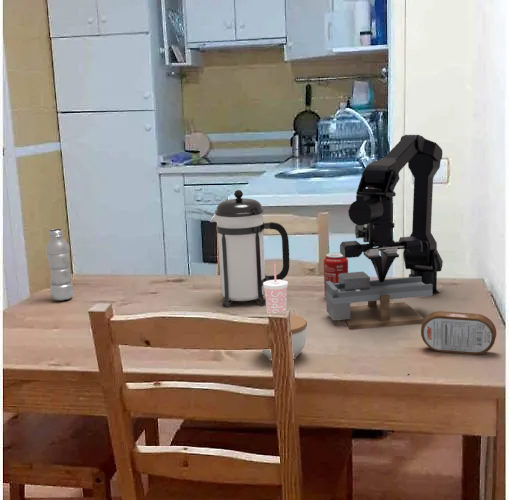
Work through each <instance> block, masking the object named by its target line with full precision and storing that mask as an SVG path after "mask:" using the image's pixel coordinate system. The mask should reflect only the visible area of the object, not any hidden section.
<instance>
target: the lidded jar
mask: <svg viewBox="0 0 509 500" xmlns="http://www.w3.org/2000/svg"><path fill="white" fill-rule="evenodd" d="M307 322H308V321H307V320H306V319H305V317H303V316H300V315H296V314H291V332H292V343H293V353H294V360H295V359H296V358H298V357H297V356H299V354H300V353H301V352H302V351H303V349H304V348H305V345H306V340H307V327H308V326H307V325H308V324H307ZM261 352H262V354H264V355H265V357H267V359H268V360H269V361H271V353H270V350H263V351H261Z"/></svg>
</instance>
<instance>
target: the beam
mask: <svg viewBox="0 0 509 500" xmlns="http://www.w3.org/2000/svg"><path fill="white" fill-rule="evenodd" d="M325 283H326V296H325V300H326V301H325V302H326V303H325V305H326V306H325V308H326V312H327V313H328V315H329V316H330V318H331V319H332V320H333V321H343V320H344V319H350V307H351V304H353V303H366V302H368V301H377V302H380V295H387V294H389V295H390V300H397V299H398V300H399V299H400V300H401V299H410V298H411V299H412V298H423V297H431V296H433V294H432V292H433V285H432V284H424V283H423V282H422V277H421V276H419V277H409V276H408V277H397V278H385V280H384V282H379V280H378V279H373V280H371V279H370V289H366V290H354V291H342V292H341V291H340V288H339V283H336V284H333V283H332V282H331V281H325Z"/></svg>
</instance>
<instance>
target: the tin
mask: <svg viewBox="0 0 509 500" xmlns="http://www.w3.org/2000/svg"><path fill="white" fill-rule="evenodd" d="M420 327H421V328H420V336H421V339H422V341H423V342H424V344H425V345H426V346H427V347H428V348H429V349H431V350H433V351H437V352H440V353H441V352H442V353H452V354H463V353H465V355H474V354H478V355H482V354H485V353H487V352H488V351H490V350H491V349H492V347H493V346H494V344H495V342H496V338H497V328H496V326H495V324H494V322H493V320H491V319H490V318H489V317H488V316H485V315H483V314H481V313H473V312H472V313H471V312H460V311H459V312H457V311H445V310H437V311H433V312H431V313H429V314H427V315H426V316H425V317H424V320H423V323H421V326H420Z"/></svg>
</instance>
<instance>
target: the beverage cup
mask: <svg viewBox="0 0 509 500" xmlns="http://www.w3.org/2000/svg"><path fill="white" fill-rule="evenodd" d="M276 263H277V262H273V274H274V280H268V281H265V282H264V283H263V285H264V286H263V287H264V289H265V294H264V296H265V297H264V299H265V301H266V303H265V305H266V314H267V313H277V312H283V311H286V312H287V306H288V305H287V304H288V302H287V298H288V287H289V281H287V280H285V279H282V280H276V275H277V264H276Z"/></svg>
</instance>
